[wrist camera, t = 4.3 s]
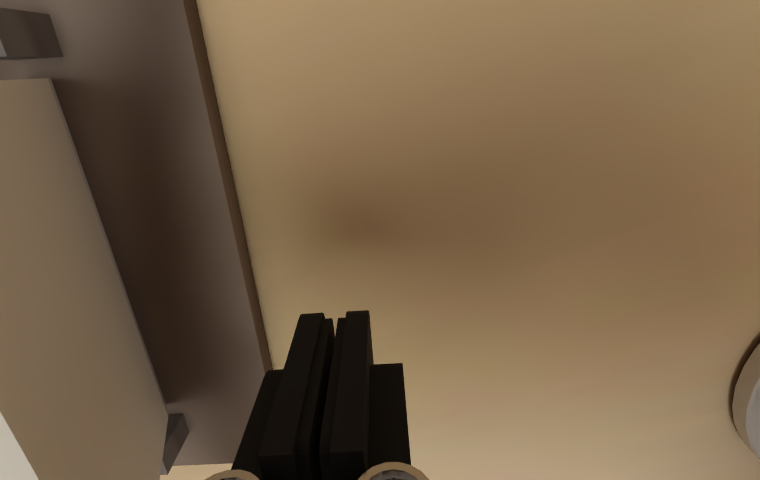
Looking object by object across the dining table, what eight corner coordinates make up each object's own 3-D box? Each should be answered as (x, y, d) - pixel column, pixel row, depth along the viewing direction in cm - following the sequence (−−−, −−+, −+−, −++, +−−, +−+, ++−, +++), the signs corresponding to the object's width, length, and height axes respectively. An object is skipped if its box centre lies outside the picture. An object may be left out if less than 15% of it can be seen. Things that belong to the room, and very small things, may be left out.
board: (180, -74, 13) (120, -113, 10) (288, 443, 22) (273, 504, 19) (-349, -33, 13) (-559, -59, 10) (-32, 458, 22) (-96, 520, 19)
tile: (-182, 88, 5) (-315, 97, 5) (135, 650, 11) (83, 673, 11) (56, 77, 14) (12, 81, 13) (169, 404, 19) (140, 412, 19)
